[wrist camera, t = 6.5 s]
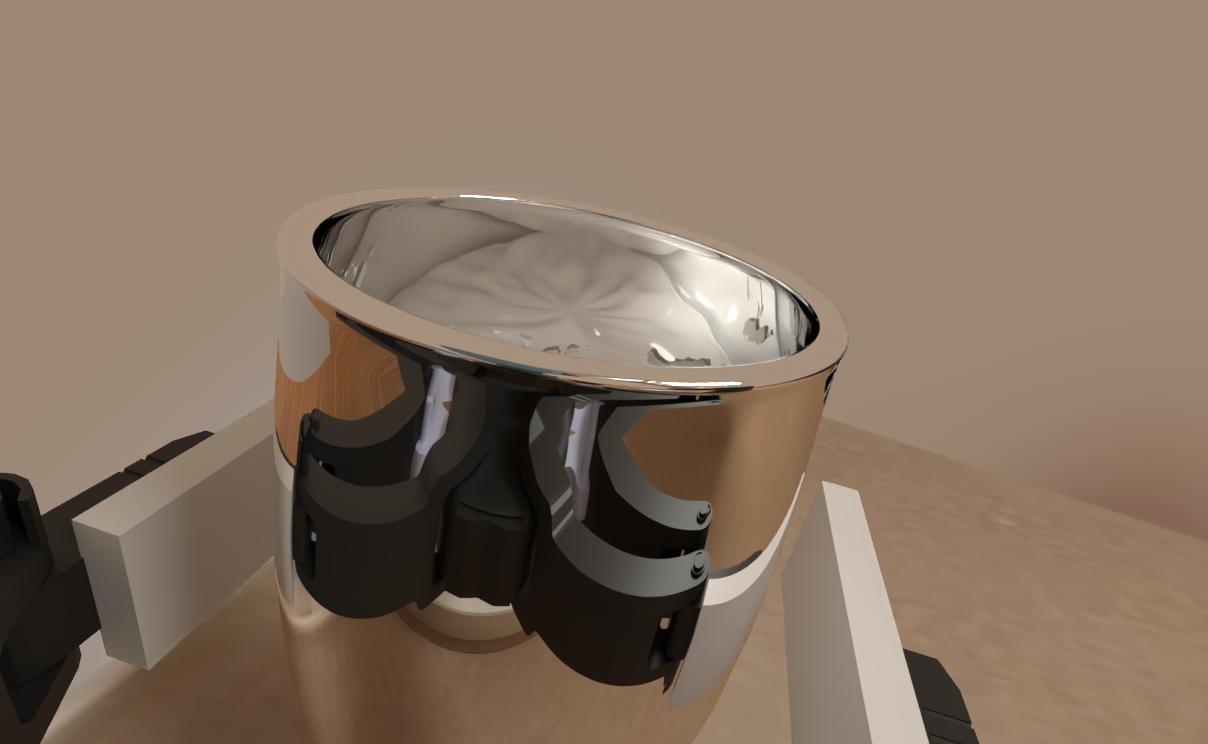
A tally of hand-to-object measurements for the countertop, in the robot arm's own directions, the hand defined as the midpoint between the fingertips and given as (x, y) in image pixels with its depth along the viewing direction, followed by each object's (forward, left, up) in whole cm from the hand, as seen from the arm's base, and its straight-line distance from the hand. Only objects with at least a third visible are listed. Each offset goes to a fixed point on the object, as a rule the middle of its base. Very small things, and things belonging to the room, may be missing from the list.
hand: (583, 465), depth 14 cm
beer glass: (+2, +4, -9) cm, 10 cm away
